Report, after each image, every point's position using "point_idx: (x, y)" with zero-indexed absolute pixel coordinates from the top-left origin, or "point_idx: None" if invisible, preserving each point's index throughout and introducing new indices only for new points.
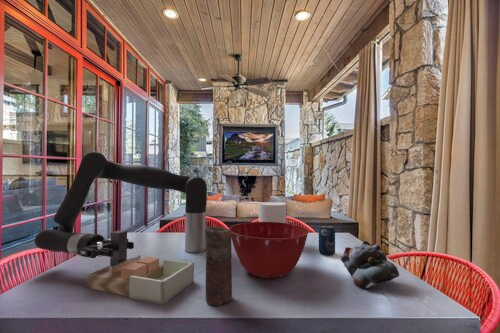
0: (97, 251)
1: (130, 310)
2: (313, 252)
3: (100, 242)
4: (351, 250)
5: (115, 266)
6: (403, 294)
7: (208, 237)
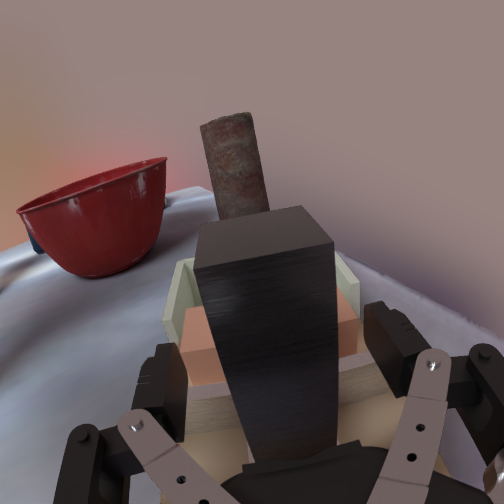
0: (455, 358)
1: (386, 298)
2: (35, 259)
3: (387, 482)
4: None
5: (362, 355)
6: (168, 200)
7: (252, 126)
